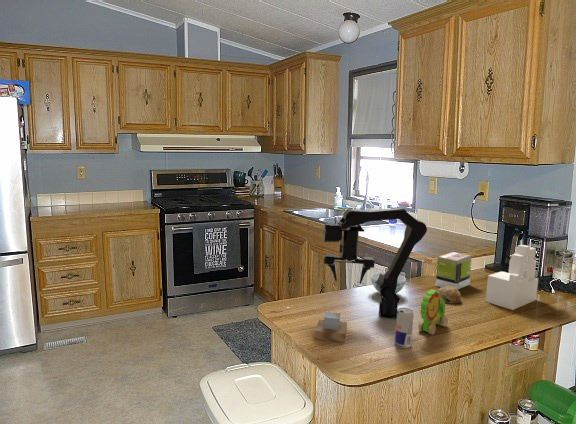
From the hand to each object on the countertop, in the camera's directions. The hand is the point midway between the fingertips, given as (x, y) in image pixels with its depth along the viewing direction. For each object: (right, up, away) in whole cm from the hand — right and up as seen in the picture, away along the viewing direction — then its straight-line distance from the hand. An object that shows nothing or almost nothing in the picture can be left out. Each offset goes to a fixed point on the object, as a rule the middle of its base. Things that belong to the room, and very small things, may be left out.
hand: (348, 282), depth 174 cm
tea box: (+55, -8, +43) cm, 71 cm away
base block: (-8, -16, -17) cm, 24 cm away
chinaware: (+21, -10, +27) cm, 36 cm away
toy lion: (+29, -16, -9) cm, 34 cm away
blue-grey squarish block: (-8, -13, -17) cm, 23 cm away
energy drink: (+15, -18, -23) cm, 33 cm away
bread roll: (+46, -11, +23) cm, 53 cm away
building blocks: (+74, -12, +24) cm, 79 cm away
